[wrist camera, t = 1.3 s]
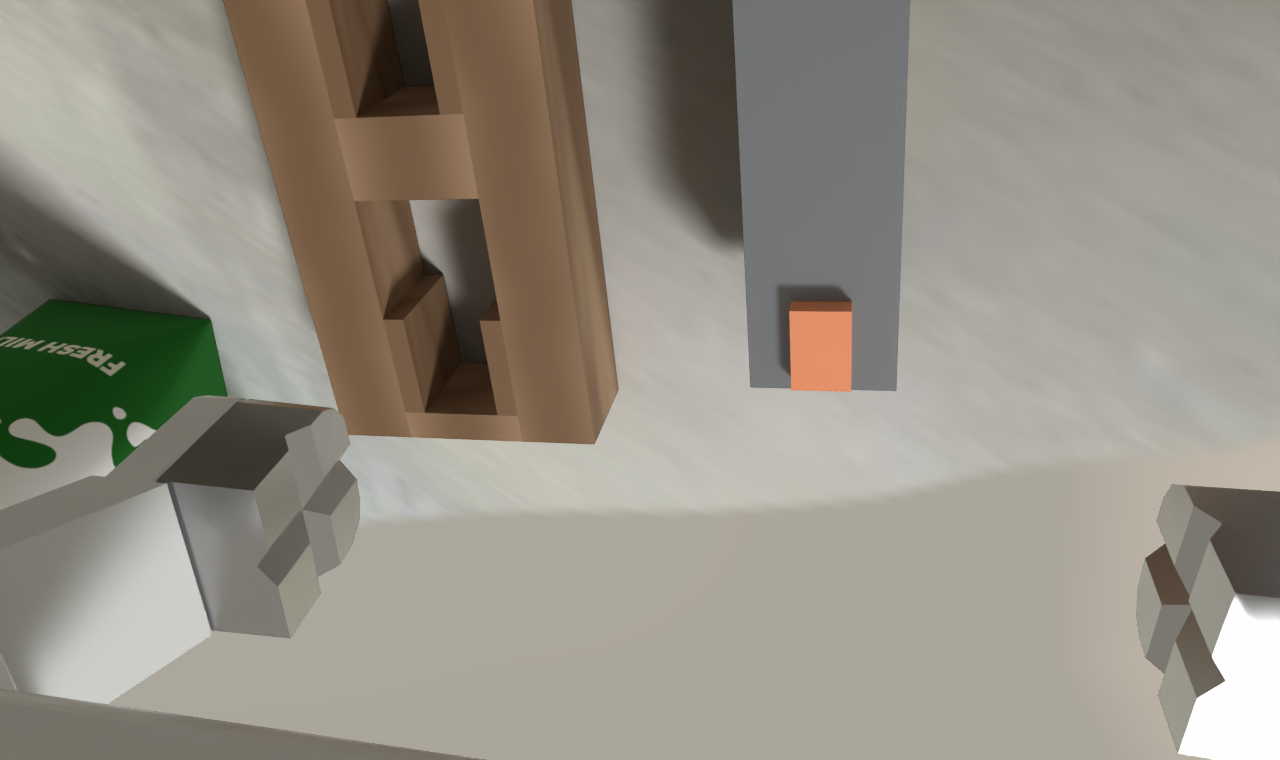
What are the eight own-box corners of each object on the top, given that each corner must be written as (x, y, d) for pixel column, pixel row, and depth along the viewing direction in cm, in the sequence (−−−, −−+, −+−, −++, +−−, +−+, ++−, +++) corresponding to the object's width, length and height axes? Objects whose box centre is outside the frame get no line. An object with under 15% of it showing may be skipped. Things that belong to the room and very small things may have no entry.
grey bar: (915, -295, 24) (921, -312, 20) (895, 307, 32) (896, 402, 27) (748, -275, 25) (714, -286, 20) (769, 306, 33) (747, 398, 28)
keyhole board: (532, -317, 26) (487, -329, 23) (618, 390, 36) (594, 444, 33) (222, -275, 28) (144, -280, 25) (387, 383, 38) (345, 434, 35)
